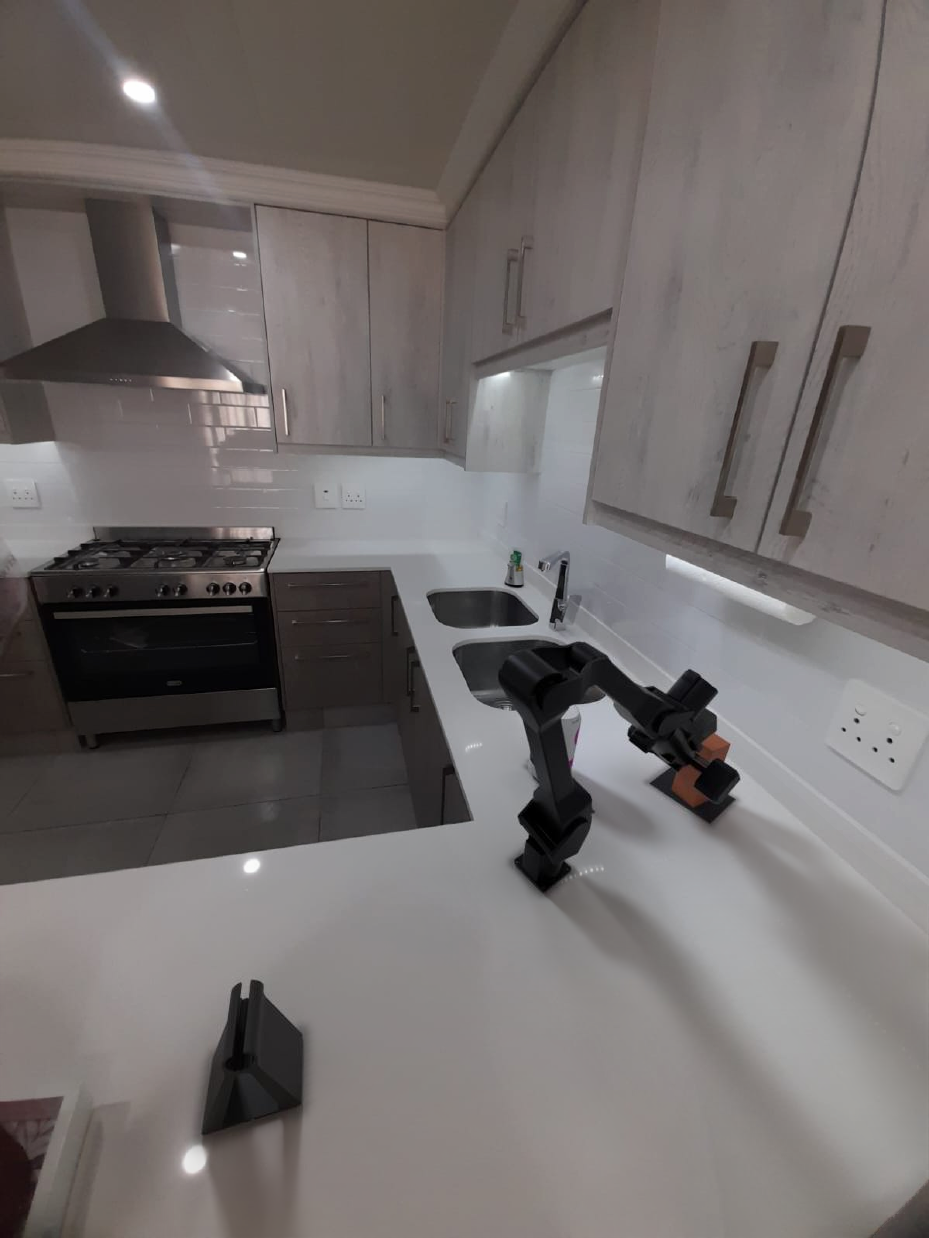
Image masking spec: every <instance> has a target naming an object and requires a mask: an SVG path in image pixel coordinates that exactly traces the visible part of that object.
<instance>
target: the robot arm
mask: <svg viewBox="0 0 929 1238" xmlns="http://www.w3.org/2000/svg"><path fill="white" fill-rule="evenodd" d="M568 670H569V671H572V672H574V673H575V674H577V676H574V677H570V678H568V677H567V676H566V675H564V674H563V673H562V672H565V671H568ZM497 672H498V673H497V679H498V682H499V686H500V688H501V689H502V691H503V693H504V694H505V697H506V698H507V700H508V701H509V703H510V704H511V705H512V707H513V708H514V710H515V711H516V712H517V714H518V715H519V717H520V718H521V720H522V724H523V728H524V731H525V735H526V739H527V743H528V747H529V752H530V751H531V755H532V759H533V763H534V767H535V771H536V775H537V779H538V780H537V779H536V780H537V782H538V786H536V788H535V789H533V791H532V792H533V793H532V798H531V799H530V800H529V801H528V802H527V804H526V805H525V806H524V808H522V809H521V811H520V812H519V813H518V814H517V817H516V818H517V820H518V824H519V825H520V826H521V827H523V829H524V830H525V831H526V833H527V834H528V836H527V839H525V843H524V848H523V852H522V853H521V854H519V856H517V857H516V858H514V860H513V864H514V865H515V866H516V867H517V868H518V869H519V871H520V872H522V873H523V875H525V876H526V878H528V879H529V880H530V881H531V883H532V884H534V886H536V888H538V889H539V891H540V892H542V893H546V892H547V891H549V890H550V889H551V888H553V887H554V886H555V885H556V884H558V882H560V881H561V880H563V879H564V878H565V877H566V876H568V875H569V874H570V873H571V872H572V867H571V866H570V864H568V863H567V862H566V860H568V859H570V858H572V857H573V856H576V855H578V854H579V852H580V850H581V848H582V846H583V844H584V842H585V840H586V839H587V836H588V835H589V833H590V830H591V828H592V827H591V826H592V822H593V815H594V814H595V813H596V811H595V810H594V808H593V797H592V795H591V793H589V791H588V790H587V789H585V788H584V786H583V785H581V783H580V782H578V781H577V780H576V778H574V777H573V774H572V769H571V768H570V763H569V758H568V752H567V747H566V742H565V737H564V732H563V726H562V721H561V718H562V717H563V715H564V714H565V713H566V712H567V710H568V709H569V707H570V706H572V705H575V704H576V705H577V704H580V703H581V702H582V700H583V699H584V697H585V695H586V693H588V690H589V689H590V688H591V687H593V686H594V687H595V688H596V689H597V690H599V691H600V692H601V693H603V694H604V695H605V696H606V697H607V698H609V699H610V700H611V701H612V702H613V703H612V704H613V708H614V709H615V711H616V712H617V714H618V715H619V716H620V717H621V718H622V719H624V720H625V721H626V722H628V723H629V724H631V725H630V726H629V727H628V728H627V732H626V736H627V738H628V741H629V742H630V743H631V744H632V745H633V746H635V747H636V748H637V749H639V750H640V751H641V752H642V753H644V754H649V753H650V754H653V755H654V756H655V757H656V758H658V759H659V760H661V761H662V762H663V763H665V764H666V765H667V766H668V767H669V768H670V767H671V768H672V769H674V770H675V771H676V772H679V771H680V770H681V769H682V768H683V767H686V766H688V765H690V766H692V767H693V768H694V769H696V770H697V771H698V772H700V773H701V775H700V776H699V777H698V778H697V779H696V781H695V784H694V788H695V789H696V790H697V791H698V792H700V793H701V794H702V795H703V796H705V797H706V798H707V799H708V800H710V801H711V802H712V803H714V804H720V803H721V802H722V801H723V800H724V799H725V797H726V796H727V795H730V793H731V792H732V791H733V790H734V789H735V787H736V786H737V785H738V784H739V782H740V781H741V776H740V775H741V774H740V773H739V772H738V770H737V769H736V768H735V767H732V766H731V765H730V764H728V763H727V762H726V761H722V760H721V759H719V758H716V759H714V760H712V762H711V763H710V762H709V761H707V760H706V759H704V758H703V757H702V756H700V755H699V754H697V753H696V751H697V752H698V753H699V752H700V751H701V750H702V749H703V748H704V747H703V745H702V744H701V743H702V742H703V741H705V740H706V739H707V738H708V737H709V736H711V735H712V734H713V733H715V734H716V733H717V731H718V716H717V714H715V712H712V711H711V710H709V709H708V708H707V707H708V706H709V705H710V704H711V702H712V701H713V700H714V699H715V697H716V696H717V695H719V690H718V688H716V687H715V686H713V685H712V684H711V683H710V682H708V681H707V680H706V679H705V678H703V677H702V675H701V674H700V673H698V672H697V671H694V670H693V669H691V668H688V669H687V670H684V672H683V673H682V674H681V675H680V676H679V677H678V679H677V680H676V681H675V682H674V684H672V686H671V687H670V688H669V690H668V691H667V692H664V691H663V690H661V689H659V688H658V687H656V686H654V685H649V686H642V685H640V684H638V683H636V682H634V681H633V680H632V679H631V678H630V677H629V676H628V675H626V673H624V672H623V671H622V670H621V669H620V668H619V667H618V666H617V665H616V664H614V663H613V661H612V660H611V659H610V657H609V655H607V654H606V653H604V652H602V651H601V650H600V649H598V648H596V647H595V646H593V645H592V644H590V643H588V642H586V641H580V640H579V641H578V640H577V641H574V642H570V643H568V644H562V645H560V644H558V645H557V644H555V645H537V646H534V647H531V648H527V649H520V650H517V651H515V652H514V653H512V654H511V655H509V656H508V657H506V659H505V660H504V661H503V663H502V665H501V667H500V668H499V669H498V671H497ZM694 759H695V760H696V759H697V761H698V760H699V761H698V762H699V763H698V762H697V761H695V760H694ZM700 762H701V764H702V763H703V766H702V765H701V764H700ZM704 765H705V767H707V768H705V767H704Z"/></svg>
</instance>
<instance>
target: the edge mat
mask: <svg viewBox="0 0 929 1238" xmlns="http://www.w3.org/2000/svg"><path fill="white" fill-rule="evenodd" d="M676 773H677V772H676V771H675V770H674V769H672V768H671V767H670V766H669V768H668V769H665V771H664V772H661V773H660V774H659V775H658V776H656V778H654V779H653V780H651V781H650V782H649V784H650V785H652V786H653V787H654V788H656V789H657V790H659V791H660V792H662V793H663V794H665V795H666V796H667V797H669V798H671V799H672V800H674V801H675V802H677V803H679V804H680V805H681V806H683V807H684V808H686V809H687V810H689V811H691V812H692V813H693V814H695V815H696V816H698V817H700V818H701V819H703V820H704V821H705V822H707V823H708V824H711V823H713V821H714V820H715V819H717V818H718V816H720V814H721V813H723V812H724V811H725V810H726V809H727V808H728V807H729V806H730V805H731V804H732V803H733V802H734V801H735V800H736V798H735V797H733V796H732V795H730V794H728V795H727V796H726V797H725V799H724V800H723V801H722V802H721V803H720V804H714V803H712V802H711V801H710V800H709V801H706V802H704V803H702V804H700V805H698V806H696V807H694V808H693V807H691V806H690V805H689V804H688V803H687V802H685V801H684V800H683V799H682V798H681V797H679V796H678V795H677V794H676V793H675V792H673V791H672V790H671V789H672V786H673V782H674V779H675V776H676Z"/></svg>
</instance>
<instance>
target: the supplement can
mask: <svg viewBox="0 0 929 1238" xmlns="http://www.w3.org/2000/svg"><path fill="white" fill-rule="evenodd" d="M561 721H562V726H563V732H564V737H565V742H566V747H567V752H568V758H569V763H570V768H571V770H572V769H573V765H574V764H573V763H574V758H575V754H576V749H577V744H578V741H579V740H578V738H579V734H580V730H581V724H582V715H581V712H580V708H579V707H578V705H577V704H575V705H572V706H570V707H569V709H568V710H567V712H566V713H565V714H564V715H563V717H562V718H561ZM528 756H529V758H528V765H527V767H528V771H529V772H530V775H532V776H533V778H535V780H537V781H538V779H537V775H536V771H535V767H534V763H533V759H532V755H531V751H530V750H529V755H528Z"/></svg>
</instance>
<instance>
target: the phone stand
mask: <svg viewBox="0 0 929 1238" xmlns="http://www.w3.org/2000/svg"><path fill="white" fill-rule="evenodd" d="M242 987H243V983H242V982H241V981H240V982H238V983H237V984H235V985H234V986H233V987H232V988H231V990H230V996H229V1003H228V1004H229V1005H228V1012H227V1019H226V1022H225V1025H224V1028H223V1031H222V1033H221V1036H220V1037H219V1040H218V1043H217V1046H216V1048H215V1051H214V1052H213V1056H212V1059H211V1060H212V1061H211V1065H210V1066H211V1067H210V1074H209V1080H208V1087H207V1092H206V1093H207V1094H206V1100H205V1106H204V1113H203V1119H202V1125H201V1133H200V1134H201V1136H206V1135H209V1134H210V1135H211V1134H213V1133H216V1132H219V1131H222V1130H226V1129H230V1128H232V1127H235V1126H239V1125H242V1124H245V1123H246V1124H247V1123H248V1122H251V1121H252V1120H258V1119H262V1118H265V1117H268V1116H271V1115H275V1114H278V1113H282V1112H284V1111H287V1110H292V1109H295V1108H298V1107H300V1106H301V1105H302V1085H303V1084H302V1083H303V1082H302V1081H303V1080H302V1079H303V1078H302V1077H303V1033H302V1032H301V1031H300V1030H299V1028H297V1026H295V1025H294V1023H292V1022H291V1021H290V1020H289V1019H288V1017H287V1016H285V1015H284V1014H283V1012H282V1011H281V1010H279V1008H278V1007H277V1006H276V1005H275V1004H274V1003H272V1001H271V1000H270V999H269V998H268V997H267V996H266V994H265V991H264V990H265V985H264V983H263V982H262V981H261V980H258V979H250V983H249V991H248V997H245V998H242V997H241V996H242Z"/></svg>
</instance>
